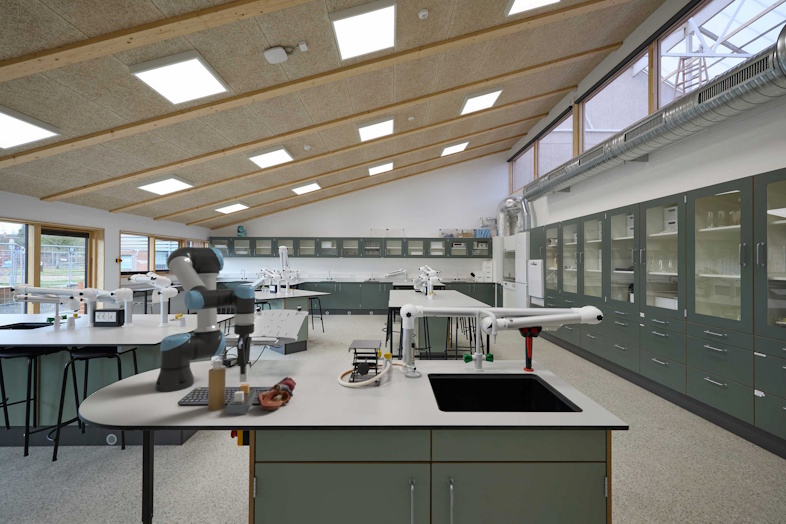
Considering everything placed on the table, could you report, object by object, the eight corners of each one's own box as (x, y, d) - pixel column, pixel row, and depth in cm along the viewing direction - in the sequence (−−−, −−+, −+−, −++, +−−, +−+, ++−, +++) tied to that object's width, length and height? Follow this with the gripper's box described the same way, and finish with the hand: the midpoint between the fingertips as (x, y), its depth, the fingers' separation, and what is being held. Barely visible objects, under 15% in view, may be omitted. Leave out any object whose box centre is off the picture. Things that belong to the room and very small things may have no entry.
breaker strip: (242, 393, 153) (242, 384, 153) (259, 392, 154) (259, 384, 154) (226, 415, 131) (226, 405, 131) (245, 414, 132) (245, 404, 132)
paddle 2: (241, 392, 144) (241, 384, 144) (249, 391, 145) (249, 384, 145) (240, 393, 142) (240, 386, 142) (247, 393, 143) (247, 385, 143)
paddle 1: (235, 399, 136) (235, 391, 136) (243, 399, 137) (243, 391, 137) (234, 401, 134) (234, 393, 134) (242, 401, 135) (242, 393, 135)
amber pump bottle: (211, 404, 141) (212, 360, 141) (227, 403, 142) (227, 359, 141) (205, 411, 135) (206, 364, 135) (222, 410, 136) (222, 364, 135)
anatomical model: (250, 398, 133) (278, 366, 140) (258, 402, 144) (283, 372, 151) (271, 416, 131) (299, 382, 138) (278, 419, 142) (302, 387, 149)
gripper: (239, 320, 148) (238, 376, 148) (229, 326, 135) (228, 387, 135) (257, 320, 149) (257, 375, 149) (249, 326, 136) (248, 386, 136)
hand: (243, 381), depth 142 cm, fingers closed
